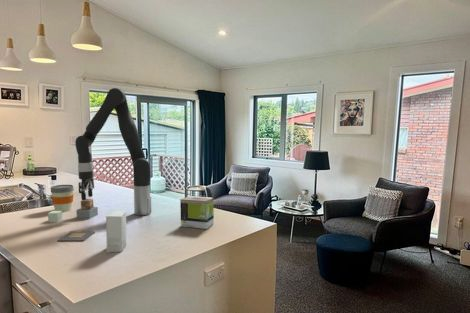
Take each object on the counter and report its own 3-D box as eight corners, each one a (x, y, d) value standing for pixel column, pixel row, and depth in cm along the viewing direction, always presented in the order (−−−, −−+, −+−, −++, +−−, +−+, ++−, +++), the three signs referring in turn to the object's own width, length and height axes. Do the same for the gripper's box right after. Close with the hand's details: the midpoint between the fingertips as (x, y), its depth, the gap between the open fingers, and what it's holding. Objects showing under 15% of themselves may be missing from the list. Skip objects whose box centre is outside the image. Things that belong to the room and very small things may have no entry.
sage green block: (62, 219, 177) (62, 210, 176) (57, 222, 172) (57, 213, 171) (53, 219, 177) (53, 210, 176) (48, 222, 172) (47, 213, 171)
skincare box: (112, 245, 138) (111, 210, 137) (127, 244, 139) (126, 210, 137) (106, 252, 130) (104, 215, 129) (122, 252, 131) (121, 215, 129)
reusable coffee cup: (46, 211, 192) (45, 187, 191) (64, 206, 204) (63, 184, 203) (61, 213, 188) (60, 189, 186) (79, 208, 199) (78, 185, 198)
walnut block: (93, 207, 184) (93, 199, 184) (90, 209, 179) (89, 201, 179) (84, 207, 184) (84, 199, 184) (81, 209, 179) (80, 201, 179)
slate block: (97, 215, 186) (97, 207, 185) (89, 219, 178) (89, 210, 177) (85, 214, 187) (84, 206, 186) (76, 218, 179) (76, 210, 179)
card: (95, 232, 155) (95, 230, 155) (84, 241, 143) (84, 239, 143) (70, 232, 155) (70, 230, 155) (57, 241, 143) (57, 239, 143)
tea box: (214, 224, 169) (214, 197, 168) (206, 229, 160) (206, 201, 158) (189, 221, 174) (188, 194, 173) (180, 226, 165) (179, 198, 163)
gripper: (86, 172, 173) (88, 201, 175) (97, 168, 187) (98, 195, 189) (72, 172, 173) (74, 201, 174) (84, 168, 187) (86, 195, 189)
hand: (87, 198), depth 182 cm, fingers open, 8 cm apart
